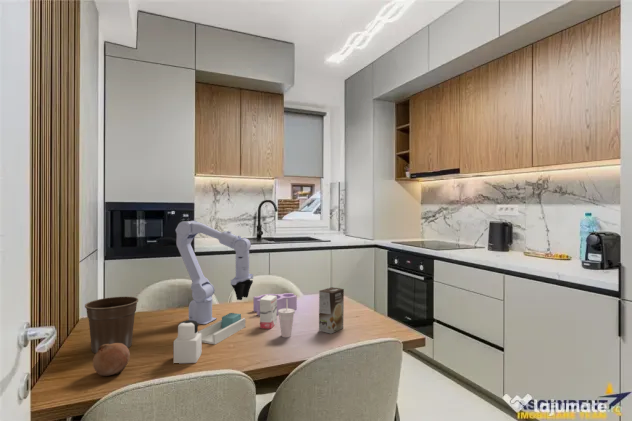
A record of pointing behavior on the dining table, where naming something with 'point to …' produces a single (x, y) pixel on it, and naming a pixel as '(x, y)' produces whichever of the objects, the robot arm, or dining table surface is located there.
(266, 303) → the ink box
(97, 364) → the brown rounded lump
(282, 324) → the smoothie
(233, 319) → the block
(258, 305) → the purple cup holder
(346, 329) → the dining table surface
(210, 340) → the chute
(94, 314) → the plant pot
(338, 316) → the coffee box
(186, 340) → the medicine bottle
